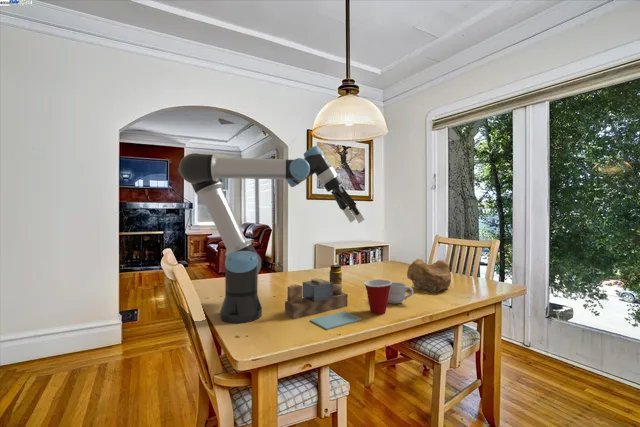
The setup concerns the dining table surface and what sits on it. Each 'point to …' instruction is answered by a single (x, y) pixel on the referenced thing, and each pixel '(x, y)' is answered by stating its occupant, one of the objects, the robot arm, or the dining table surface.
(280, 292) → the dining table surface
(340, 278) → the condiment
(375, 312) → the plastic cup
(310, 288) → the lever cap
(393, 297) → the teacup
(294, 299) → the plane body
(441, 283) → the rough brown rock
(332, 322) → the rubber mat
